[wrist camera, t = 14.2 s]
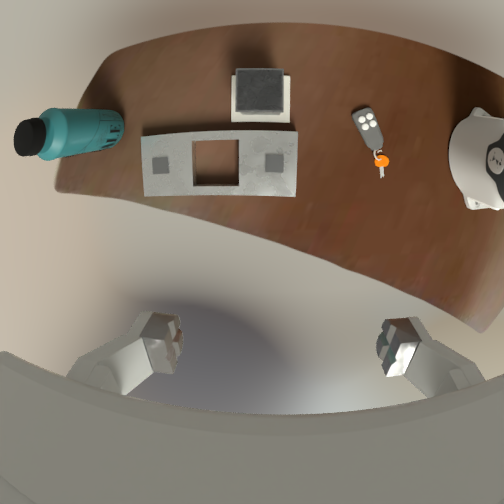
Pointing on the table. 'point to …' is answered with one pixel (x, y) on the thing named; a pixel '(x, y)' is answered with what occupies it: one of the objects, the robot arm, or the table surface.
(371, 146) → the key chain
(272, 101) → the dark grey box
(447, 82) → the table surface
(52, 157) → the beverage bottle
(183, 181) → the cabinet panel
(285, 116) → the pad
